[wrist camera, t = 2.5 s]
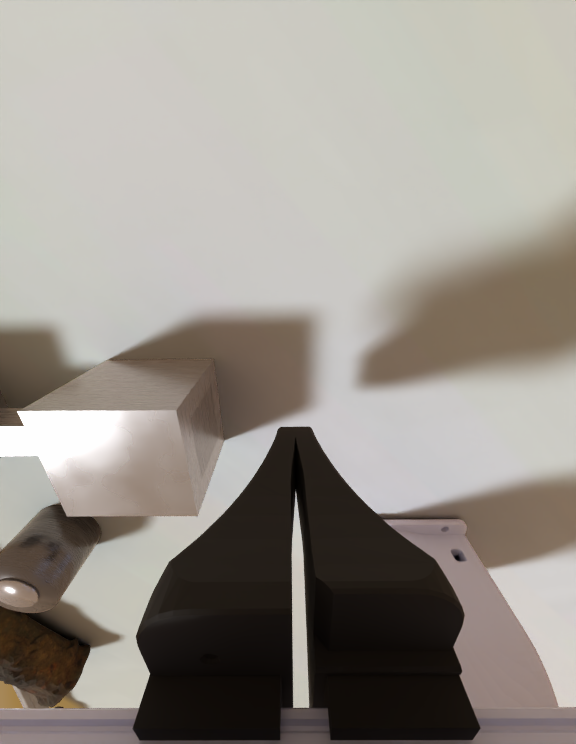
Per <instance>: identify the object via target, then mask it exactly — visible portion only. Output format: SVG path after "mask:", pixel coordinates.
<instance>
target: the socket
mask: <svg viewBox="0 0 576 744" xmlns="http://www.w3.org/2000/svg"><path fill="white" fill-rule="evenodd" d="M100 537H101V529H100V527H99V525H98V523H97V522H96V521H95V520H94V519H93V518H92V517H91V516H69V517H67V515H66V513H65V511H64V509H63V507H62V505H53V506H48V507H46V508H43V509H42V510H41V511H40V512H39V513H38V514H37V515H36V516H35V517H34V518H33V519H32V520H31V521H30V522H29V523H28V524H27V525H26V526H25V527H24V528H23V529H22V530H21V531H20V532H19V533H18V534H17V535H16V536H15V537H14V538H13V539H12V540H11V541H10V542H9V543H8V544H7V546H6V547H5V548H4V549H3V550H2V551H1V552H0V606H1V607H4V608H7V609H10V610H13V611H18V612H24V613H40V612H45V611H48V610H50V609H52V608H53V607H54V606H55V605H56V604H57V603H58V601H59V600H60V598H61V597H62V595H63V594H64V592H65V591H66V589H67V588H68V586H69V585H70V583H71V582H72V580H73V579H74V577H75V576H76V574H77V573H78V571H79V570H80V568H81V567H82V565H83V564H84V562H85V561H86V559H87V558H88V556H89V555H90V553H91V552H92V550H93V549H94V547H95V546H96V544H97V543H98V541H99V539H100Z"/></svg>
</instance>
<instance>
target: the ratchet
mask: <svg viewBox="0 0 576 744" xmlns="http://www.w3.org/2000/svg"><path fill="white" fill-rule="evenodd" d="M21 409H23V408H9V407H8V405H7V403H6V401H5V399H4V397H3V395H2V393H1V391H0V458H1V457H2V456H38V454H37V452H36V449H35V447H34V445H33V443H32V441H31V439H30V437H29V435H28V432H27V430H26V428H25V426H24V424H23V422H22V420H21V418H20V415H19V413H18V411H20V410H21Z"/></svg>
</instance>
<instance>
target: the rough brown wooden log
mask: <svg viewBox="0 0 576 744" xmlns="http://www.w3.org/2000/svg"><path fill="white" fill-rule="evenodd" d="M89 653H90V645H87V644H85V645H81V646H80V645H78V639H77V638H74V639H73V640H67V639H66V638H64V637H63V636H61V635H59V634H57V633H55V632H54V631H52V630H50V629H48V628H46V627H44V626H43V625H41V624H39V623H38V622H36V621H35V620H33V619H31V618H30V617H29V616H28V615H26V614H23V613H22V612H18V611H13V610H10V609H7V608H4V607H1V606H0V681H4V683H5V684H11V685H13V686H16V687H17V688H18V689H20V690H22V691H24V692H25V691H27V692H28V693H30V694H33V695H34V696H35V697H36V698H37V701H38V704H40V706H46V707H48V706H49V707H53V706H55V705H56V704H57V703H59V702H60V701H61V700H62V698H63V697H64V696H65V695H66V694H67V693H68V692H69V691H71V690H72V689H73V688H74V687H75V685H76V683H77V682H78V680H79V678H80V676H81V674H82V671H83V667H84V665H85V663H86V660H87V658H88V656H89Z"/></svg>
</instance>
